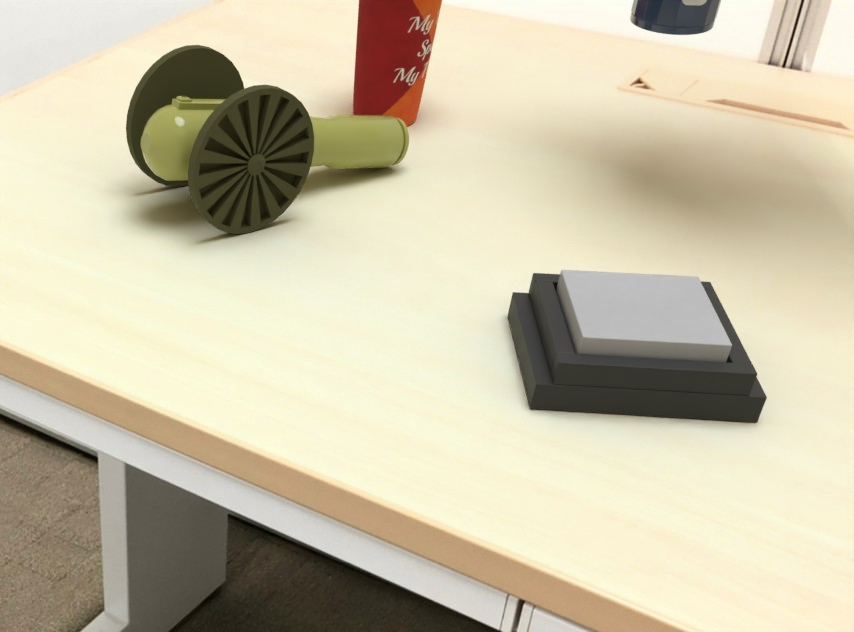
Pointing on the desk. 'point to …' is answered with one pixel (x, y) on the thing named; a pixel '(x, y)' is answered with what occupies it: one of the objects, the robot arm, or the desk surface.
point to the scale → (625, 369)
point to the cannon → (243, 139)
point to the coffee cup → (393, 56)
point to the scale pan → (641, 316)
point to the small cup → (674, 16)
